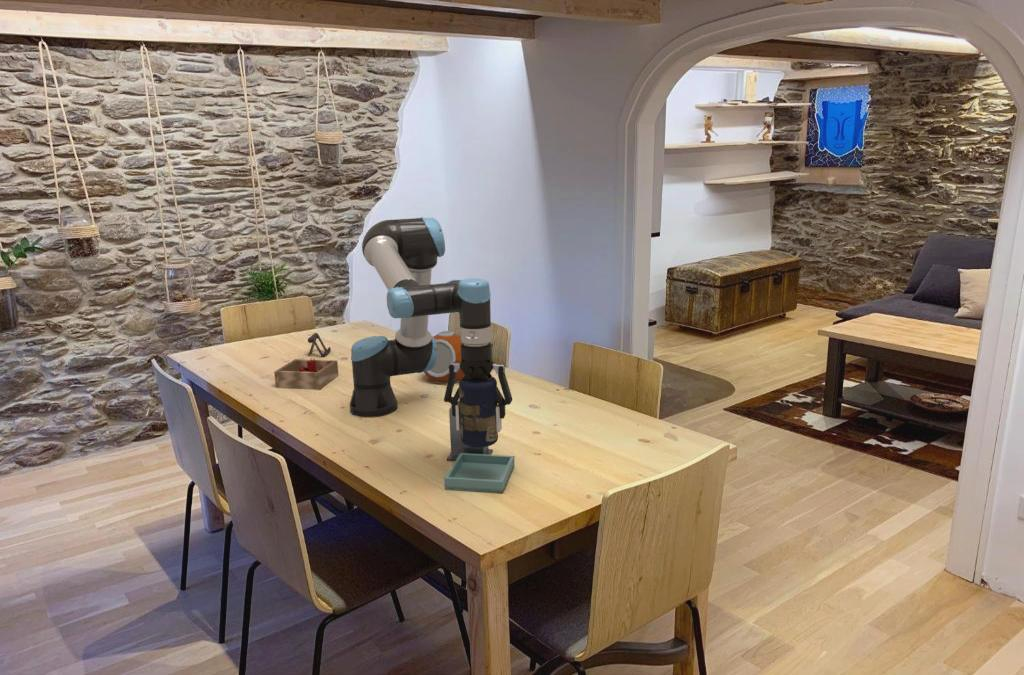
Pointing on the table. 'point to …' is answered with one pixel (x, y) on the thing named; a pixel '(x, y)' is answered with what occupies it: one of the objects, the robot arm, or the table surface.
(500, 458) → the tray
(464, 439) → the canister
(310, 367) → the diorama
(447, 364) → the alarm clock
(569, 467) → the table surface
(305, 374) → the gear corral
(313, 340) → the portable electronic device stand
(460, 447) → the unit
